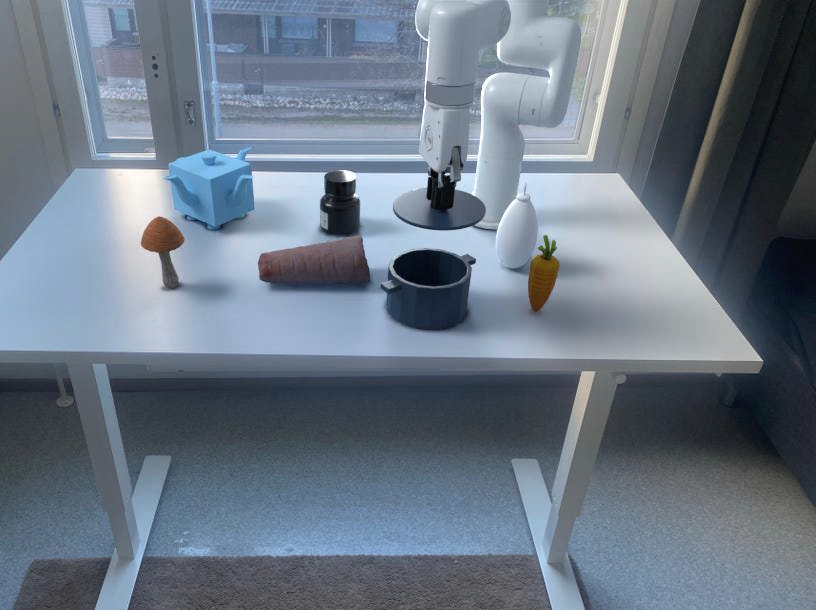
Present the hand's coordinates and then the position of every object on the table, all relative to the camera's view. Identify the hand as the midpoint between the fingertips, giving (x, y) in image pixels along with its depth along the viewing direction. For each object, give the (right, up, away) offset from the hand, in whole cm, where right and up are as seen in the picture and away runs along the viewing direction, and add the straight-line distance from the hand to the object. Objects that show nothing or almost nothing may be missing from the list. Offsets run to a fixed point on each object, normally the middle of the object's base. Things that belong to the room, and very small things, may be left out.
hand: (439, 202), depth 118 cm
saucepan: (-1, -17, +12) cm, 21 cm away
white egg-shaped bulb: (+18, -8, +25) cm, 32 cm away
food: (-22, -11, +20) cm, 32 cm away
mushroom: (-50, -13, +18) cm, 54 cm away
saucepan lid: (0, -1, +1) cm, 1 cm away
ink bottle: (-17, +3, +39) cm, 42 cm away
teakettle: (-44, +6, +43) cm, 62 cm away
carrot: (+19, -18, +11) cm, 28 cm away
